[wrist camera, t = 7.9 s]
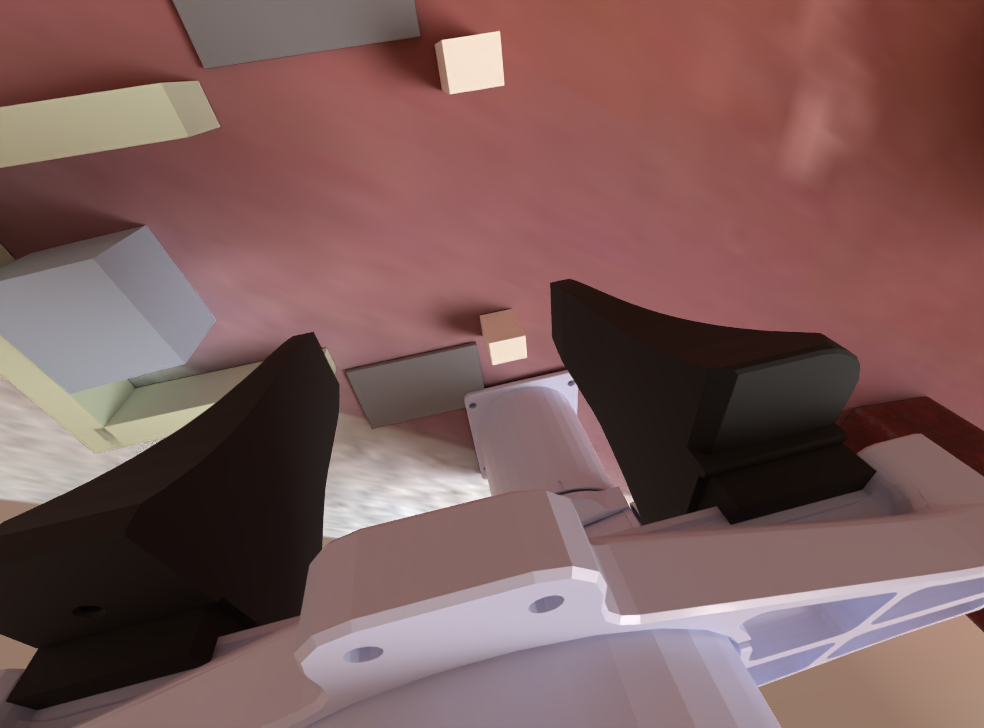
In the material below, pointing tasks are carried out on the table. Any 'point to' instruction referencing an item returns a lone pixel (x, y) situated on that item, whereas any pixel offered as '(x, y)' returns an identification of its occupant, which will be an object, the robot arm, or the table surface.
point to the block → (101, 310)
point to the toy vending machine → (918, 418)
